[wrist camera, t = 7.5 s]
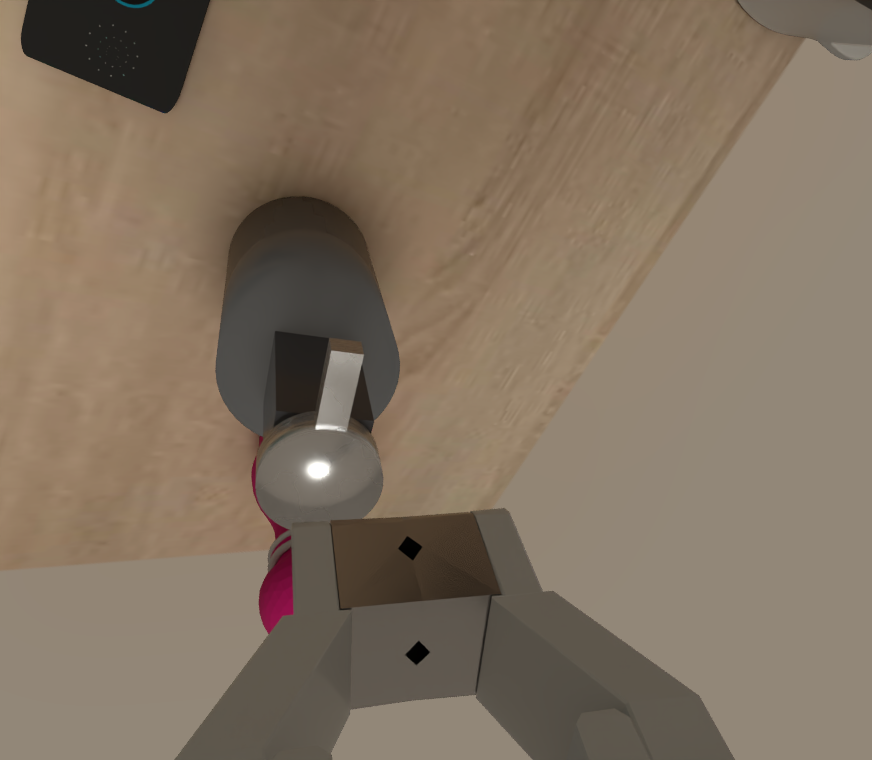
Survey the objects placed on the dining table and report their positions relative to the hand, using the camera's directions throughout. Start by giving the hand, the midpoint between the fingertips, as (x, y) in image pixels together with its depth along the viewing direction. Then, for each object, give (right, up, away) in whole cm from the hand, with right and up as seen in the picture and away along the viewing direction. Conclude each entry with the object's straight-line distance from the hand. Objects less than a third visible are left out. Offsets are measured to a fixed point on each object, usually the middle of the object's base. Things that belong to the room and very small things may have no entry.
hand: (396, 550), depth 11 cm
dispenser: (-8, +10, +39) cm, 41 cm away
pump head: (-5, +4, +26) cm, 27 cm away
